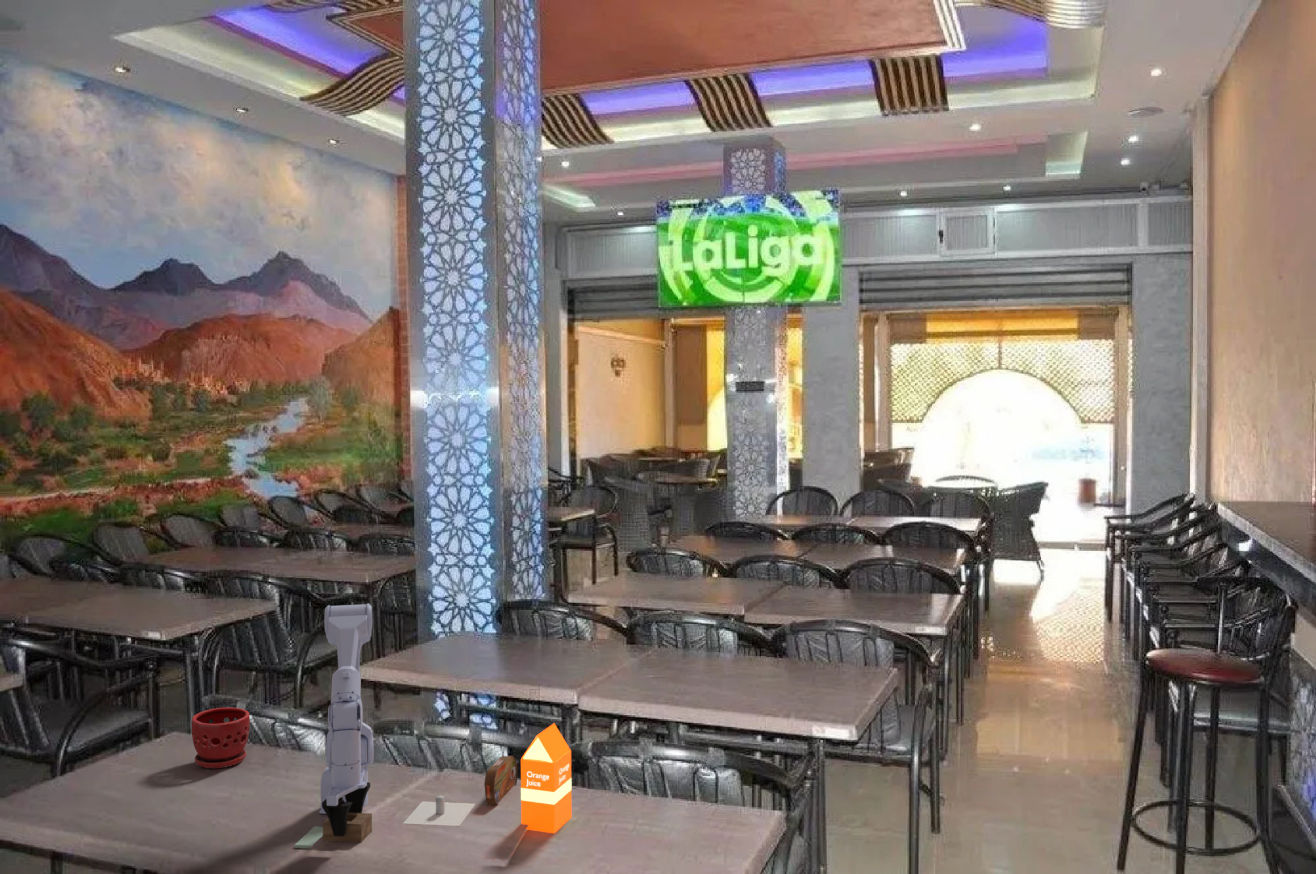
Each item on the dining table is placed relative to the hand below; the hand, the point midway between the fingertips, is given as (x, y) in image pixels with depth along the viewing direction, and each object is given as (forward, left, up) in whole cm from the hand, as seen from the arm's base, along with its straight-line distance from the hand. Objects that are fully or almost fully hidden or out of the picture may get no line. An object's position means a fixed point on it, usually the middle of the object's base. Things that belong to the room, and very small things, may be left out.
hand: (347, 827), depth 214 cm
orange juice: (+38, +13, -3) cm, 40 cm away
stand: (+15, +13, -3) cm, 20 cm away
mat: (0, 0, -3) cm, 3 cm away
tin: (+25, +25, -3) cm, 35 cm away
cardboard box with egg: (0, 0, -2) cm, 2 cm away
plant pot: (-49, +40, -3) cm, 63 cm away
